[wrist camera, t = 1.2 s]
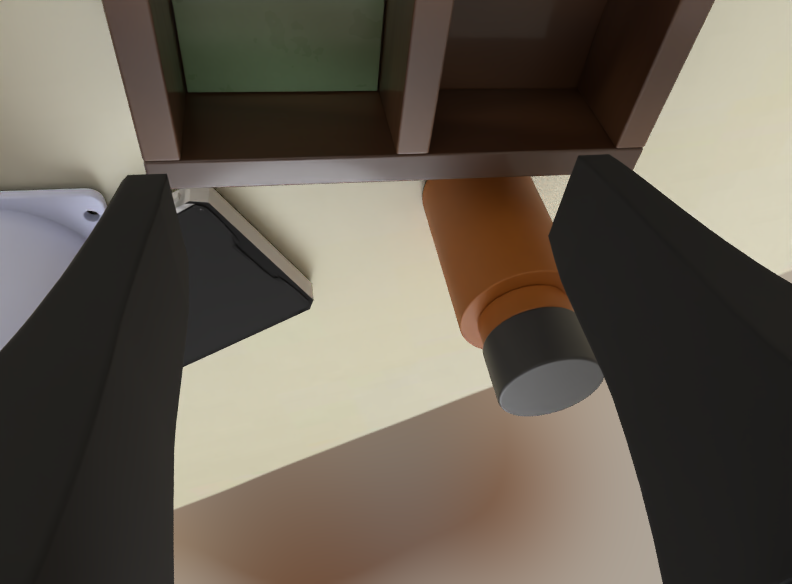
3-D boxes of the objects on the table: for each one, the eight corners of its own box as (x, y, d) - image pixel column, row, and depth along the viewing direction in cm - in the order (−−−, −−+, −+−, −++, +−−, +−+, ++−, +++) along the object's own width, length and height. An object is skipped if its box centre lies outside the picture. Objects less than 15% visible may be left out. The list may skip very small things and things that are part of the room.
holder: (586, 102, 23) (632, 173, 20) (159, 108, 20) (150, 190, 18) (683, -156, 17) (765, -102, 14) (93, -199, 14) (63, -141, 12)
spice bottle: (513, 226, 27) (593, 417, 21) (415, 231, 27) (470, 431, 21) (540, 143, 24) (643, 342, 18) (430, 146, 23) (500, 355, 17)
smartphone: (-95, 352, 26) (197, 193, 22) (-86, 328, 26) (199, 171, 22) (68, 422, 31) (320, 307, 28) (72, 401, 32) (318, 286, 28)
